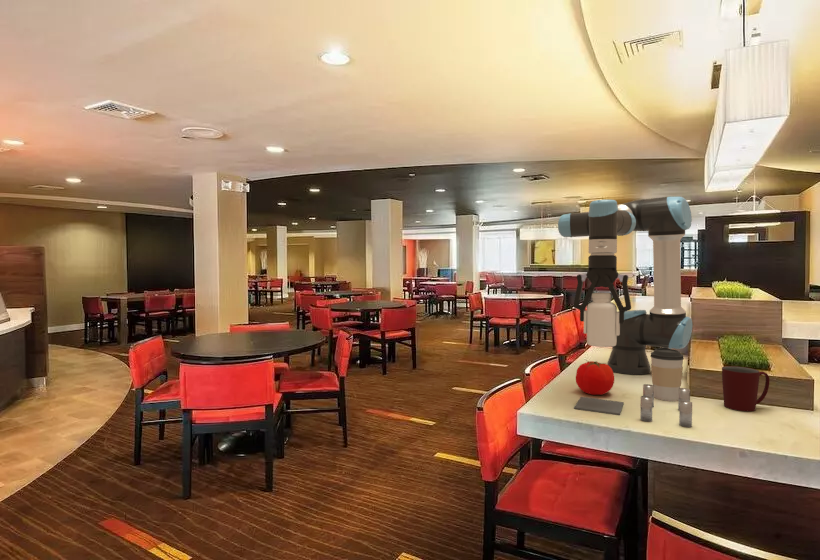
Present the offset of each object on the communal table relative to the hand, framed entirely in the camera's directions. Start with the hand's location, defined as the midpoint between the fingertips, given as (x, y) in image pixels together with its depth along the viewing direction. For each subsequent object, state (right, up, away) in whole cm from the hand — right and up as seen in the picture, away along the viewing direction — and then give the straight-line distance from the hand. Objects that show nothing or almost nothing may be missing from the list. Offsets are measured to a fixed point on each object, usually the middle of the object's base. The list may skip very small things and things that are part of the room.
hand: (601, 333), depth 138 cm
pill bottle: (0, -3, 0) cm, 3 cm away
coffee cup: (+24, -21, +10) cm, 33 cm away
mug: (+41, -21, -1) cm, 46 cm away
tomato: (+4, -21, +15) cm, 26 cm away
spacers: (+15, -21, -7) cm, 27 cm away
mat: (0, -21, +1) cm, 21 cm away
